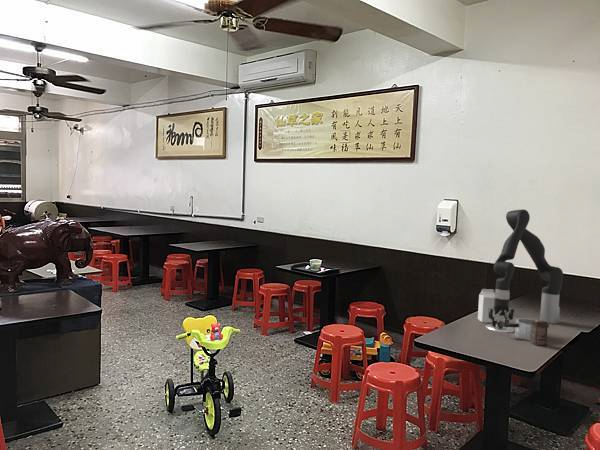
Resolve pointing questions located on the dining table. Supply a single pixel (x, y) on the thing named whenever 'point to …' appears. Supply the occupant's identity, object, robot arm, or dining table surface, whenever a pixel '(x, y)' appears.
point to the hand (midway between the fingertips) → (500, 326)
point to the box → (539, 332)
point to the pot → (522, 328)
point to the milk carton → (485, 305)
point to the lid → (500, 327)
